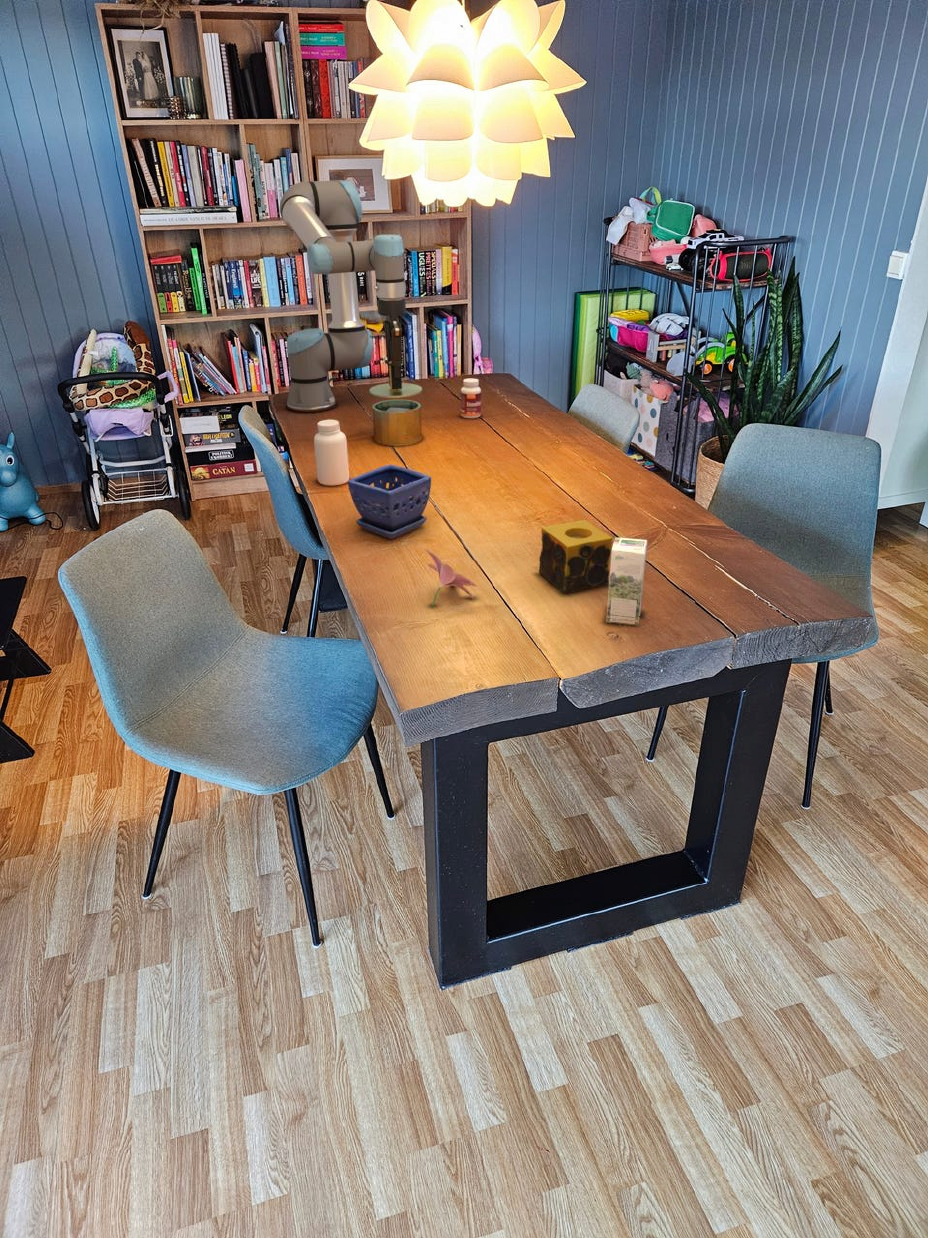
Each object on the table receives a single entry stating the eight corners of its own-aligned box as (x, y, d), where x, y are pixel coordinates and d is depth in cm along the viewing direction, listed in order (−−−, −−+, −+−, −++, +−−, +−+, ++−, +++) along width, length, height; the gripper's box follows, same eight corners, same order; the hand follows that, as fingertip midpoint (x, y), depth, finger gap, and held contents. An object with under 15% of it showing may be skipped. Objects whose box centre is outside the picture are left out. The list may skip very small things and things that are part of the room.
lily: (477, 620, 159) (493, 569, 158) (417, 603, 155) (432, 551, 154) (458, 610, 170) (472, 562, 170) (401, 594, 166) (416, 545, 166)
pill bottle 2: (466, 419, 267) (466, 383, 262) (457, 415, 272) (456, 379, 266) (484, 417, 269) (484, 380, 264) (475, 412, 274) (474, 376, 269)
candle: (537, 573, 173) (539, 526, 168) (582, 564, 177) (584, 518, 172) (563, 595, 165) (565, 546, 160) (609, 585, 168) (613, 537, 164)
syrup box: (641, 611, 159) (648, 538, 152) (638, 627, 154) (645, 551, 147) (609, 608, 160) (614, 535, 153) (605, 623, 155) (611, 548, 148)
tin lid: (365, 388, 250) (363, 357, 245) (416, 384, 253) (414, 354, 249) (374, 402, 237) (372, 369, 233) (427, 397, 240) (426, 365, 236)
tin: (370, 434, 256) (368, 401, 251) (416, 429, 259) (415, 397, 254) (378, 448, 244) (376, 414, 239) (427, 443, 247) (425, 410, 243)
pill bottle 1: (315, 486, 218) (309, 427, 211) (320, 475, 225) (315, 417, 218) (347, 486, 218) (342, 426, 210) (351, 475, 225) (347, 417, 217)
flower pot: (392, 545, 186) (389, 492, 180) (349, 530, 193) (345, 478, 188) (434, 526, 195) (433, 475, 189) (392, 512, 202) (389, 462, 196)
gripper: (372, 294, 239) (377, 381, 250) (382, 303, 225) (387, 395, 237) (399, 293, 241) (403, 379, 252) (411, 302, 227) (415, 393, 238)
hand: (395, 387), depth 244 cm, fingers closed on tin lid, 3 cm apart
